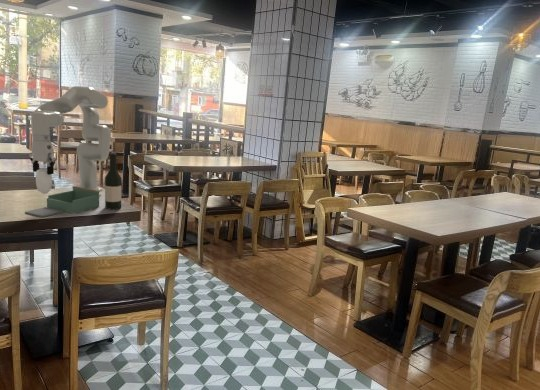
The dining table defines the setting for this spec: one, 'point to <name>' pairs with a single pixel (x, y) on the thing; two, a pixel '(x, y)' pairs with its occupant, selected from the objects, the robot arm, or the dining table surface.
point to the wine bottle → (112, 186)
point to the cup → (43, 181)
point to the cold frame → (74, 200)
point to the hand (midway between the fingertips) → (43, 172)
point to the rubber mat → (43, 212)
